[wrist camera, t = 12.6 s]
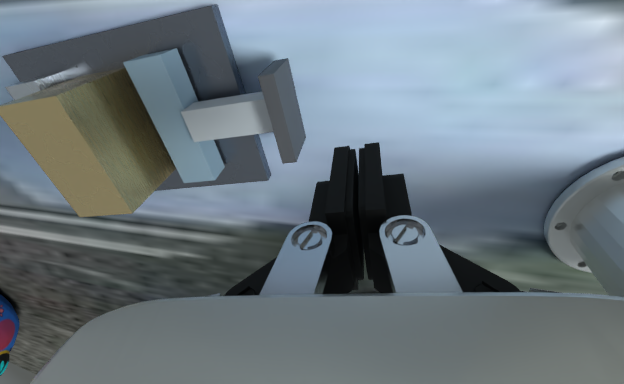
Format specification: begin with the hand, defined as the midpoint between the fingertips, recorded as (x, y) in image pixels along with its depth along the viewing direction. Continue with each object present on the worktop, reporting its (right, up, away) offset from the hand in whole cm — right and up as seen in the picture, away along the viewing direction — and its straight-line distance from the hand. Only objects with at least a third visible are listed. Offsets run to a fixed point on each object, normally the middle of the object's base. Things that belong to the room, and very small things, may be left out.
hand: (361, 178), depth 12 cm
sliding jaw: (-8, +6, +12) cm, 16 cm away
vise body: (-17, +6, +16) cm, 24 cm away
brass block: (-18, +5, +15) cm, 24 cm away
